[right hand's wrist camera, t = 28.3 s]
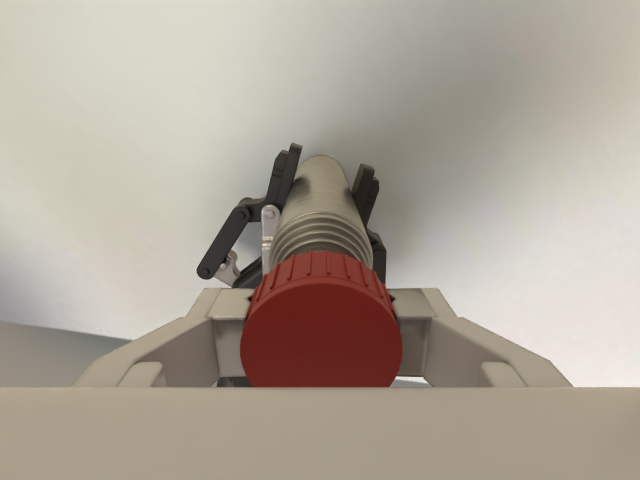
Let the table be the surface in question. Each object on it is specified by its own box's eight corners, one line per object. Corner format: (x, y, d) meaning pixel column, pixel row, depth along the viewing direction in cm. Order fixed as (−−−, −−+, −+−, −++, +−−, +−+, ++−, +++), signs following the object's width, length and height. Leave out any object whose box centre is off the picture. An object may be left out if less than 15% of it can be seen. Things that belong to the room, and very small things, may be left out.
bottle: (318, 144, 28) (316, 230, 8) (354, 178, 29) (430, 330, 9) (285, 181, 29) (212, 338, 9) (321, 212, 30) (325, 417, 10)
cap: (244, 250, 9) (226, 283, 8) (393, 246, 9) (411, 278, 8) (258, 369, 11) (245, 420, 9) (388, 366, 11) (401, 417, 9)
